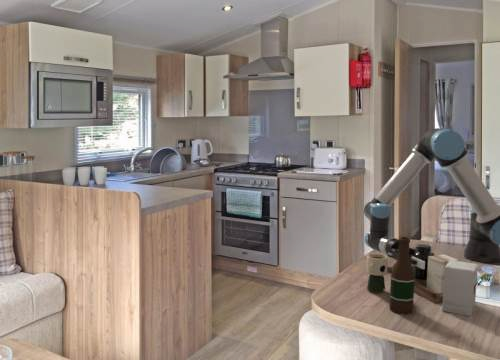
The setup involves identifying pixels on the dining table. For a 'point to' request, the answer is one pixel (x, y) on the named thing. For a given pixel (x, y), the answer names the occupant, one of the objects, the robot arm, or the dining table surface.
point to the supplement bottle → (422, 254)
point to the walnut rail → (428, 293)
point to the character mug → (376, 271)
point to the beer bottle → (402, 280)
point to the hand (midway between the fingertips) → (432, 264)
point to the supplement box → (459, 287)
